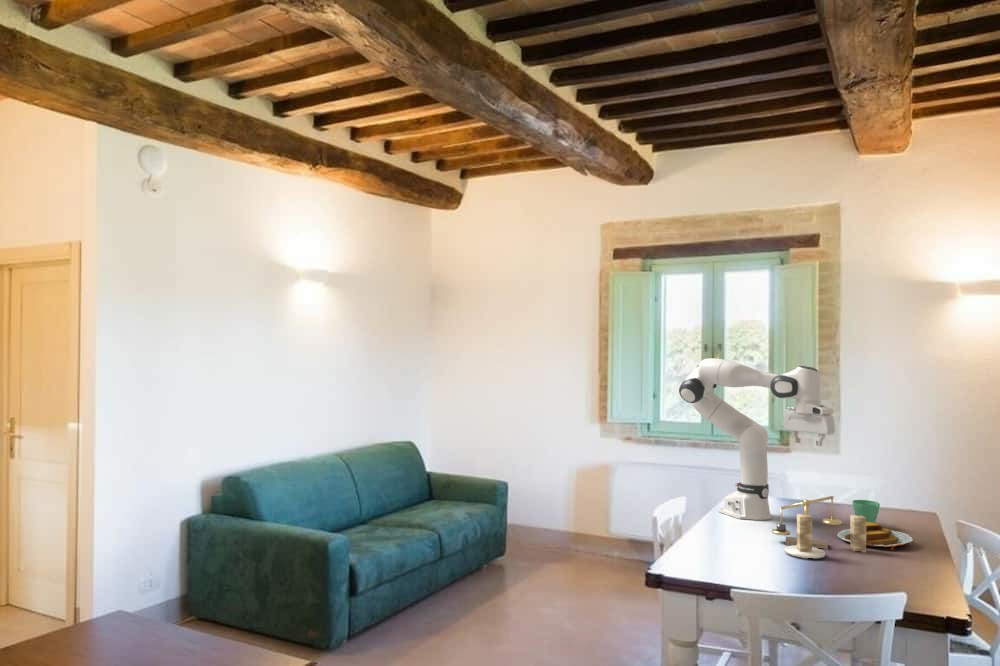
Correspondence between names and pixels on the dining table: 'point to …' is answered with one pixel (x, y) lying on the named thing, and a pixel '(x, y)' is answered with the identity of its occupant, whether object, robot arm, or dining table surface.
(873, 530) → the food on plate
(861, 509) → the mug
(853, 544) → the column
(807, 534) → the column
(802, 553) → the dish
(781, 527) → the balance
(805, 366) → the robot arm
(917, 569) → the dining table surface
